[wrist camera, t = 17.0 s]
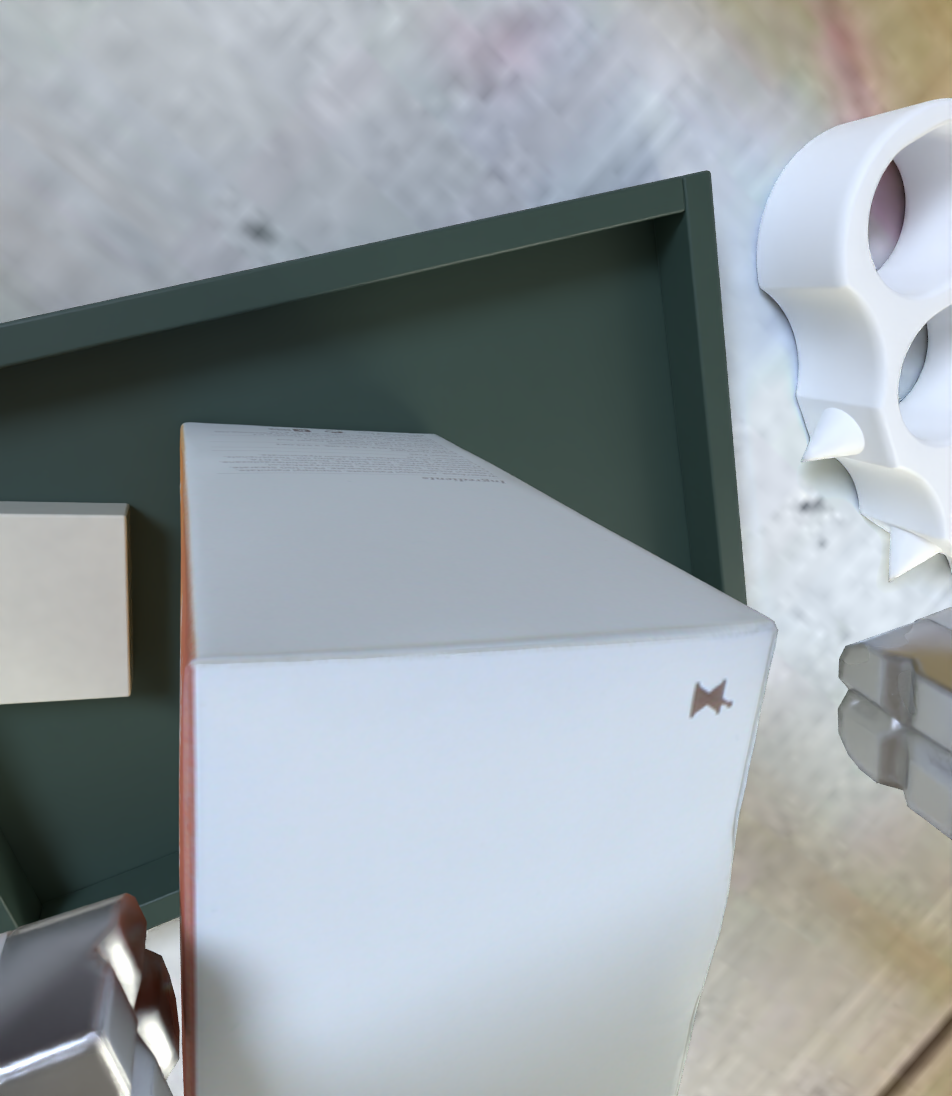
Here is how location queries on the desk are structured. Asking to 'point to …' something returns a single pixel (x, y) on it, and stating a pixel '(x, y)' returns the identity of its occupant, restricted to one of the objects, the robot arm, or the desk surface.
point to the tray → (357, 405)
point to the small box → (443, 777)
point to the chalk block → (65, 601)
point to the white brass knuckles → (872, 316)
